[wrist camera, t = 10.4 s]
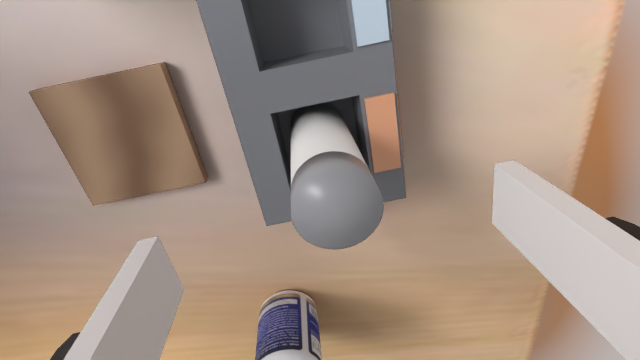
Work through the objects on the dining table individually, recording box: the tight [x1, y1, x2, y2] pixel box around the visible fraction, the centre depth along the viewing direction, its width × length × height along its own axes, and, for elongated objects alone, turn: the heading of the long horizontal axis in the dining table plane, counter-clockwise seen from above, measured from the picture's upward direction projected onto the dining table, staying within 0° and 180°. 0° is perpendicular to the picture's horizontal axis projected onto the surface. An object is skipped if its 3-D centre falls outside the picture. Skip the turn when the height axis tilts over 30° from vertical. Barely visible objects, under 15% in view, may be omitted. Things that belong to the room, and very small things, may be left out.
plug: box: [291, 102, 383, 249], centre depth 20 cm, size 4×4×12 cm
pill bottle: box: [255, 290, 322, 360], centre depth 30 cm, size 6×6×10 cm
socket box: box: [196, 0, 406, 226], centre depth 22 cm, size 10×18×5 cm, turn 11°
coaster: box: [29, 62, 208, 206], centre depth 25 cm, size 9×9×1 cm
